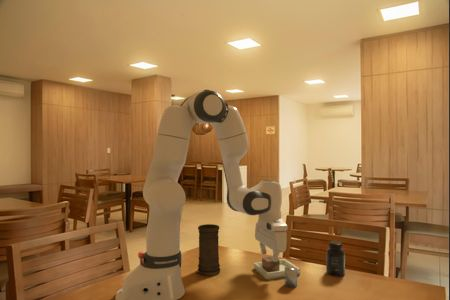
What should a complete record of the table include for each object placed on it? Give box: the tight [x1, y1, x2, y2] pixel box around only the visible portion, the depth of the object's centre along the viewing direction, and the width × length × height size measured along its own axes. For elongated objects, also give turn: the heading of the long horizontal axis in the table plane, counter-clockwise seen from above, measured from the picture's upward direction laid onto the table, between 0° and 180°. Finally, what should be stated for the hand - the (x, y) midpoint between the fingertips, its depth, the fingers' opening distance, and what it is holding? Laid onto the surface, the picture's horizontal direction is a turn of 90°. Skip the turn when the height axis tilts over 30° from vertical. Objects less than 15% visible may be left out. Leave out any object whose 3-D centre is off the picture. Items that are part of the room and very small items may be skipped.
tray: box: [253, 258, 301, 281], centre depth 132 cm, size 14×12×2 cm
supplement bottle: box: [325, 240, 346, 277], centre depth 130 cm, size 7×7×12 cm
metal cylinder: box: [284, 266, 298, 289], centre depth 119 cm, size 4×4×6 cm
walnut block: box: [261, 255, 280, 272], centre depth 130 cm, size 5×5×5 cm
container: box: [197, 223, 221, 277], centre depth 132 cm, size 9×9×18 cm
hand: (268, 257), depth 130 cm, fingers open, 8 cm apart
